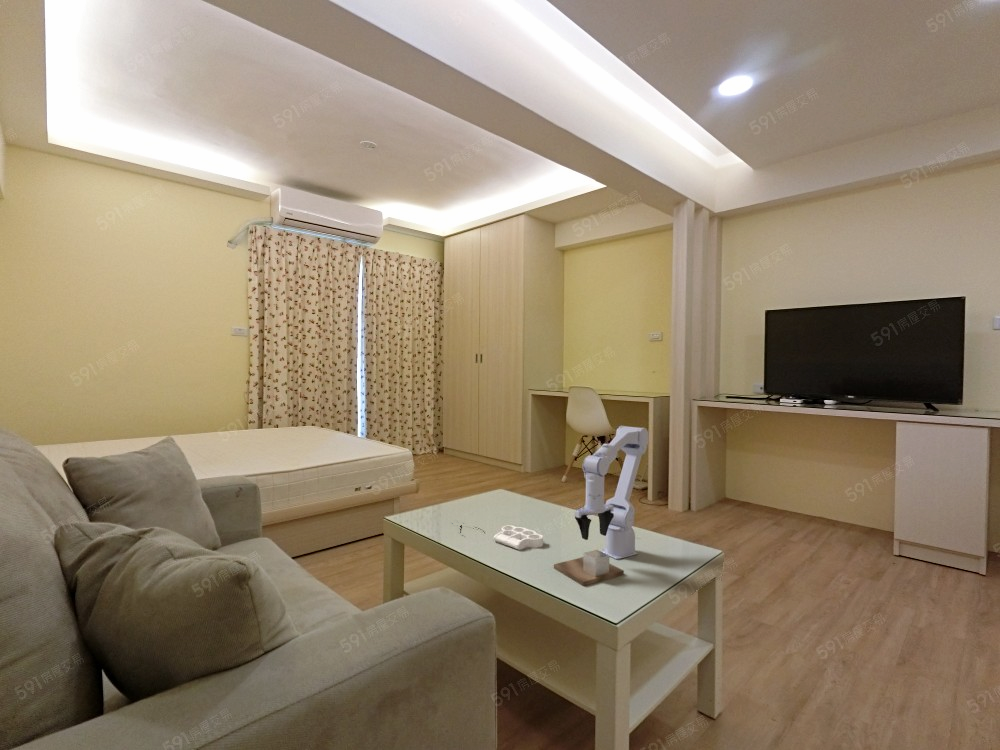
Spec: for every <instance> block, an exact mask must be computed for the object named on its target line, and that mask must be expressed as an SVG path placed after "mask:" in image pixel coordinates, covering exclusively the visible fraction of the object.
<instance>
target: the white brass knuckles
mask: <svg viewBox="0 0 1000 750" xmlns="http://www.w3.org/2000/svg"><path fill="white" fill-rule="evenodd" d="M492 540H493V541H494V542H497V543H500V544H502V545H505V546H508V547H511V548H513V549H516V550H518V551H521V550H523V549H525V548H535V549H536V548H537V549H538V548H541V547H543V546H544V535H543V534H539V533H537V531H535V530H533V529H528V528H527V527H521V526H519V527H518V526H515V525H511V524H510V525H509V524H507V525H504V526H502V527H501V531H499V532H498V533H496V534H495V535H494V536H493V538H492Z"/></svg>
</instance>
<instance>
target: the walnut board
mask: <svg viewBox="0 0 1000 750" xmlns="http://www.w3.org/2000/svg"><path fill="white" fill-rule="evenodd" d="M583 559H584V556H582V557H578V558H574V559H571V560H570V559H569V560H566V561H562V562H559V563H554V564H553V569H555V570H556V571H557V572H559V573H561V574H563V575H564V576H566V577H567V578H568V579H571V580H573V581H574V582H576V583H578V584H580V585H581V586H582V587H585V586H589V585H593V584H595V583H600V582H602V581H607V580H609V579H613V578H616V577H620V576H623V575H624V572H625V571H624V569H621V568H619V567H618V566H615V565H614V564H612V563H610V562H609V573H608V574H604V575H601V576H597V577H595V576H593V575H591V574H589V573H587V572H586V571H584V570H583Z"/></svg>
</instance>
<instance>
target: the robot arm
mask: <svg viewBox="0 0 1000 750" xmlns="http://www.w3.org/2000/svg"><path fill="white" fill-rule="evenodd" d="M649 440H650V436H649V431H648V429H647V428H646V427H635V426H626V425H619V426H618V428H617V429H616V432H615V436H614V438H613V439H612V440H611V441H610V442H609V443H603V444H601V445H602V446H600V447H599V449H597V450H596V451H595V452H594V453H593V454H592V455H591V454H589V455H587V456H585V458H584V459H583V461H582V465H581V467H582V471H583V475H584V476H583V477H584V479H585V504H584V506H583V507H581V508H579V509H575V510H574V519H575V520H576V522H577V525H578V527H579V530H580V534H581V538H582V539H583V540H585V541H588V540H589V536H590V535H589V533H590V526H591V522H592V519H590V518H589V516H592V515H598V521H599V534H600V535H602V536H604V537H605V539H606V541H605V548H603V549H600V551H601V552H603V553H605V554H607V555H609V557H611V558H612V559H615V560H621V559H624V558H628V557H632V556H635V555H637V554H638V553H637V552H636V533H635V530H634V528H633V525H634V523H635V512H636V509H635V507H634V505H633V504H632V503H631V501H630V499H631V496H632V492H633V488H634V485H635V483H636V482H635V481H636V479H637V478H636V477H637V474H638V471H639V466H640V463H641V460H642V455H644V454H646V451H647V448H648V445H649ZM620 450H621V451H623V452H624V453H625V457H624V461H623V465H622V468H621V472H620V476H619V479H618V483H617V487H616V489H615V493H614V496H612V497H611V498H609V499H607V500H606V502H605V475H607V474H608V471H609V468H610V466H611V465H610V464H611V463H612V462H613V461H615V459H616V458H617V457H618V452H619V451H620Z"/></svg>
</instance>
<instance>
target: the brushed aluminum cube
mask: <svg viewBox="0 0 1000 750" xmlns="http://www.w3.org/2000/svg"><path fill="white" fill-rule="evenodd" d="M583 557H584V559H583V570H584V571H586V572H587V573H589V574H591V575H593V576H595V577H597V576H601V575H604V574H608V573H609V563H610V556H609V555H607V554H605V553H603V552H601V550H599V549H593V550H590V551H585V552H583Z"/></svg>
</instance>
